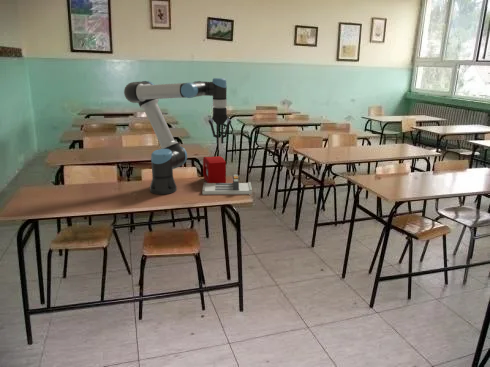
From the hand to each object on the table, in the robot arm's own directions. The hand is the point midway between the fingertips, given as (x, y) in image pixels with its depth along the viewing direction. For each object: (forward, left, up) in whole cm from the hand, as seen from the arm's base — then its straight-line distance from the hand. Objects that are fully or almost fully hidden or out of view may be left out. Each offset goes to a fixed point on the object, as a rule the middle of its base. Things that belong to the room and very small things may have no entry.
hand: (220, 149), depth 227 cm
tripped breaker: (+9, 0, -22) cm, 24 cm away
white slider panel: (+4, 0, -24) cm, 25 cm away
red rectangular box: (-4, +18, -25) cm, 31 cm away
